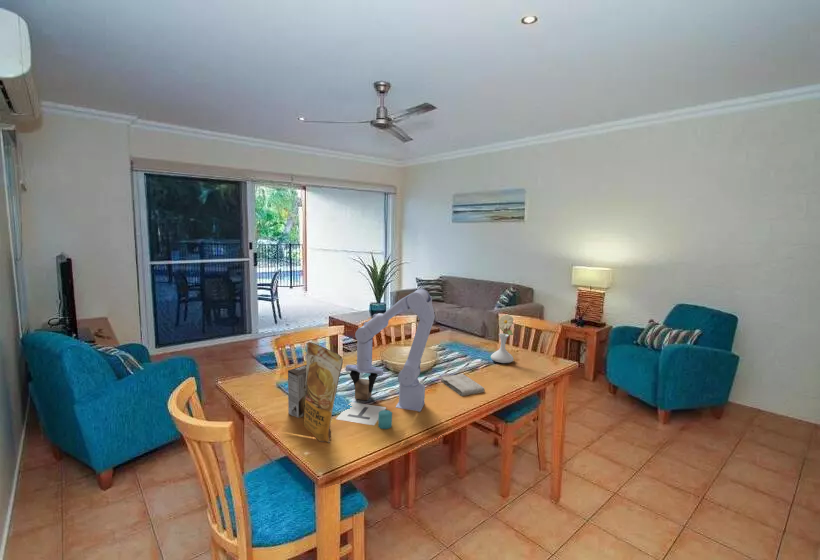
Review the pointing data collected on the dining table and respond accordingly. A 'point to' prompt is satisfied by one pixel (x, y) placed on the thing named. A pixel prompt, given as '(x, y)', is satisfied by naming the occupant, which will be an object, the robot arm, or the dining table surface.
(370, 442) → the dining table surface
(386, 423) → the teal rounded cylinder
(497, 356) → the flower in vase
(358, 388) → the walnut block
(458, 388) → the washcloth
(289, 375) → the coffee box
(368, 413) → the letter mat
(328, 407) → the pancake mix bag
